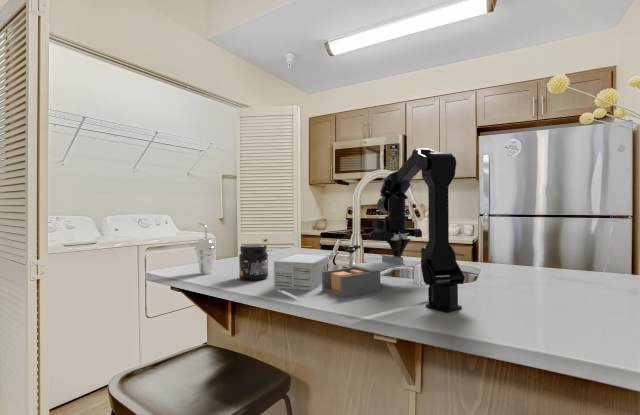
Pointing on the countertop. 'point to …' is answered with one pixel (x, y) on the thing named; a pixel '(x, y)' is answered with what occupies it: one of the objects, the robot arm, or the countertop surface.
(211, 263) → the cup with straw
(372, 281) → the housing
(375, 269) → the lid
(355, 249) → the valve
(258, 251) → the supplement container
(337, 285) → the block
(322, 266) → the supplement box
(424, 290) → the countertop surface
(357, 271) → the block
